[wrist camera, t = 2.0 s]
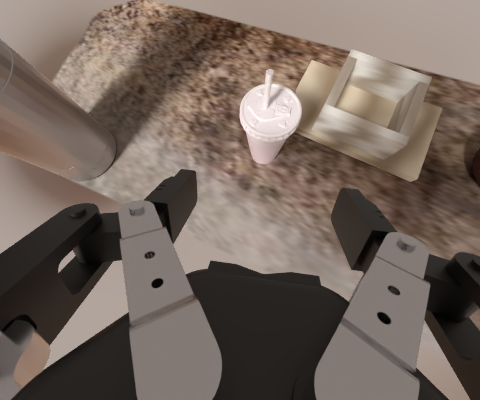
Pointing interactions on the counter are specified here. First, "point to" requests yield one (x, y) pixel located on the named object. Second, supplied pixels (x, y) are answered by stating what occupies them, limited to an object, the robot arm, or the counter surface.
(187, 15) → the counter surface
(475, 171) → the potato
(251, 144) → the smoothie
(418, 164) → the dock
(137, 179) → the counter surface
